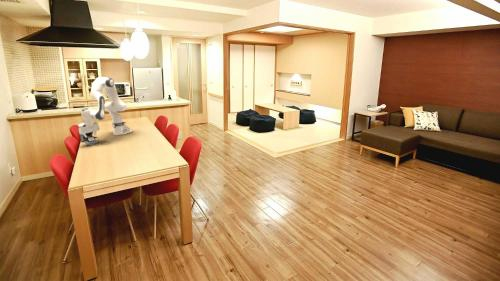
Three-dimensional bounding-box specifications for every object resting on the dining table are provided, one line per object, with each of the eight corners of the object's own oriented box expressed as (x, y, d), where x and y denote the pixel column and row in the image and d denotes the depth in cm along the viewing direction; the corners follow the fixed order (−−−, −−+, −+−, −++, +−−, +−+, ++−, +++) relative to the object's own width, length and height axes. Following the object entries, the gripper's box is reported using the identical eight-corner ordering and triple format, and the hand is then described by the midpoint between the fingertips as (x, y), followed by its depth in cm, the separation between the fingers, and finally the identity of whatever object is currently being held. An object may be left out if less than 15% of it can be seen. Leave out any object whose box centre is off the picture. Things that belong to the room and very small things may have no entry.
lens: (92, 142, 293) (91, 135, 290) (95, 142, 290) (94, 135, 288) (88, 143, 288) (87, 136, 286) (90, 144, 286) (89, 136, 284)
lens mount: (93, 142, 295) (92, 138, 294) (98, 143, 291) (97, 140, 290) (85, 144, 288) (84, 141, 287) (90, 145, 284) (89, 142, 282)
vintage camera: (92, 143, 295) (90, 125, 289) (80, 141, 298) (78, 124, 292) (99, 140, 304) (96, 123, 298) (87, 139, 307) (84, 122, 301)
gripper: (96, 121, 293) (98, 133, 298) (76, 125, 276) (79, 138, 281) (99, 122, 290) (101, 134, 294) (80, 126, 273) (82, 139, 278)
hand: (90, 136), depth 288 cm, fingers open, 8 cm apart
